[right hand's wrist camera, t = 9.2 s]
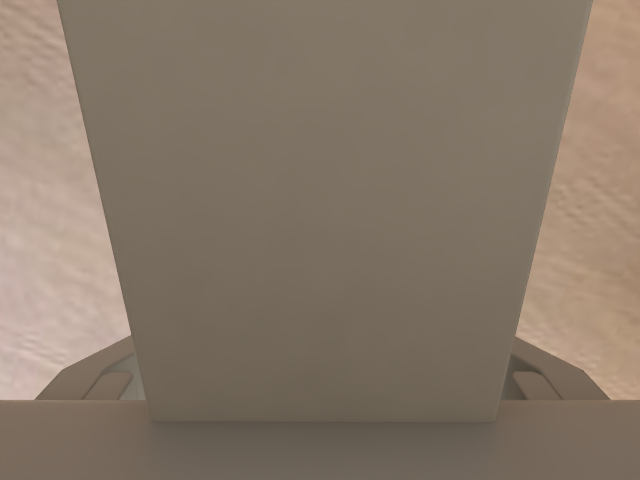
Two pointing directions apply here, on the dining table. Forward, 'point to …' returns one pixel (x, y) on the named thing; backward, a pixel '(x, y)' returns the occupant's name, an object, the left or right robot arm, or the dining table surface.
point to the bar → (324, 195)
